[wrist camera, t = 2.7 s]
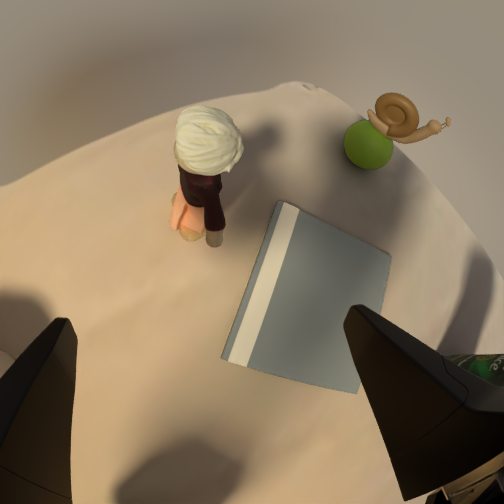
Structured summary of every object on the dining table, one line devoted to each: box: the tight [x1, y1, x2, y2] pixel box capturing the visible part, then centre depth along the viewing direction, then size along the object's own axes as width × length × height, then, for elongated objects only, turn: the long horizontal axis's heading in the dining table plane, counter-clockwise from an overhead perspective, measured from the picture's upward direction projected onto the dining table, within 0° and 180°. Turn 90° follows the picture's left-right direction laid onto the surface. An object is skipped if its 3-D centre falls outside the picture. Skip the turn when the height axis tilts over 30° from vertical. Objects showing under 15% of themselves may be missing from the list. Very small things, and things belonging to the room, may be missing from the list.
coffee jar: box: [447, 354, 504, 387], centre depth 16 cm, size 10×8×19 cm
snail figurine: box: [344, 93, 451, 170], centre depth 23 cm, size 5×6×12 cm
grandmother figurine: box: [170, 105, 244, 247], centre depth 16 cm, size 8×4×13 cm, turn 28°
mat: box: [221, 200, 392, 394], centre depth 23 cm, size 13×14×1 cm
